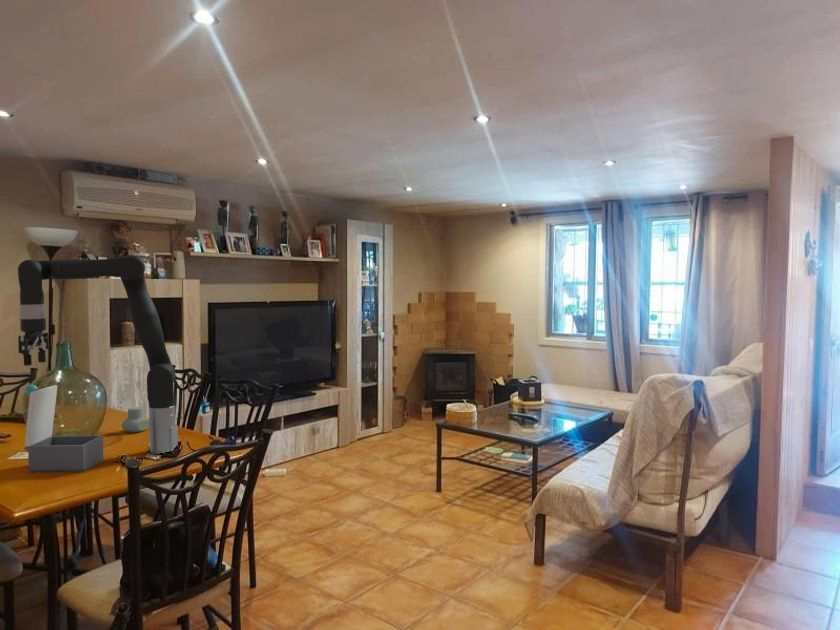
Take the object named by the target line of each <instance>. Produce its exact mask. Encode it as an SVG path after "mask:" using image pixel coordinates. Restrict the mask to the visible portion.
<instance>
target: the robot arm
mask: <svg viewBox="0 0 840 630" xmlns="http://www.w3.org/2000/svg"><path fill="white" fill-rule="evenodd" d="M145 271H146V264H145V262H144V260H143V259H141V257H139V256H137V255H133V254H128V255H125V256H119V257H113V258H112V257H111V258H104V259H53V260H34V259H25V260H23V261H22V262H20V263H19V265H18V267H17V279H18V284H19V304H20V306H19V322H20V324H19V325H20V332H24V335H18V337H17V338H18V339H17V340H18V345H17V347H18V353H19V354H21V355H23V356H22V357H23V365H24V366H28V367H29V366H32V365H33V364H32V363H33V361H32V360H33V359H32V352H33V351H34V349H35V348H36V349H37V351H38V352H37V360H38V363H45V362H46V360H47V358H46V355H47V354H46V352H47V351H48V350H49V349H50V337H49V332H46V330H47V315H46V313H47V312H46V307H45V294H44V289H43V281H45V280H81V279H89V278H98V277H99V278H100V277H102V278H103V277H114V278H115V277H116V278H119V279H120V280H121V282H122V283H121V284H122V285H123V288H124V289H125V292H126V297H127V301H128V309H129V313H130V317H131V321H132V325H133V329H134V332H135V335H136V337H137V339H138V341H139V343H140V345H141V346H142V349H143V350H144V352H145V354H146V357H147V361H148V366H149V371H148V372H147V374H146V392H147V394H146V395H147V396H146V397H147V401H148V402H147V403H148V420H149V426H148V430H149V436H148V437H149V453H150V454H153V455H159V454H160V453H163V454H166V453H165V452H168V451H173V450H174V448H175V447H176V446H177V445H178V446H179V444H178V443H179V436H178V434H179V432H178V431H179V430H178V429H179V428H178V424H177V423H176V398H175V392H174V391H175V389H174V388H175V387H174V381H175V379H176V371H175V368H174V365H173V363H172V361H171V358H170V356H169V353H168V350H167V347H166V343H165V337H164V332H163V328H162V324H161V320H160V316H159V314H158V311H157V308H156V305H155V304H154V301H153V299H152V297H151V295H150V294H149V290H148V287H147V282H146V277H145V276H146V275H145ZM160 455H161V454H160Z"/></svg>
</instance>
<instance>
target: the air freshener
mask: <svg viewBox="0 0 840 630" xmlns="http://www.w3.org/2000/svg"><path fill="white" fill-rule="evenodd" d="M121 427H122V429H123V430H124V431H125V432H128V433H142V432H143V431H145V430H147V429H149V418H147V417H144V408H143V407H142V406H136V407H135V406H134V407H129V408H128V409H127V418H126V419H125V420H124V421H122V423H121Z"/></svg>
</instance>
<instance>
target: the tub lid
mask: <svg viewBox="0 0 840 630" xmlns="http://www.w3.org/2000/svg"><path fill="white" fill-rule="evenodd" d="M25 393H26V394H27V395H29V403H28V411H27V420H26V428H25V438H24V447H27V448H28V446H30V445H32V444H35V443H37V442H39V441H42V440H44V439H46V438H48V437H51V436H53V429H54V422H55V421H54V419H55V410H56V403H57V393H58V384H57V385H55V384H54V385H50V386H48V387H44V388H39V387H38V386H37V385H35V384H29V385H27V386H26V388H25Z"/></svg>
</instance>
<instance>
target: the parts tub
mask: <svg viewBox="0 0 840 630" xmlns="http://www.w3.org/2000/svg"><path fill="white" fill-rule="evenodd" d="M27 452H28V453H27V454H28V474H30V473H31V474H33V473H34V474H38V473H37V472H47V473H84V472H86V471H88V470H90V469H91V468H93V467H95V466H96V465H97V464H99V463H101V462H103V461H104V456H105V455H104V435H100V434H99V435H52V436H50V437H48V438H46V439H44V440H41V441H39V442H37V443H34V444H32V445H30V446H28V447H27Z"/></svg>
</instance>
